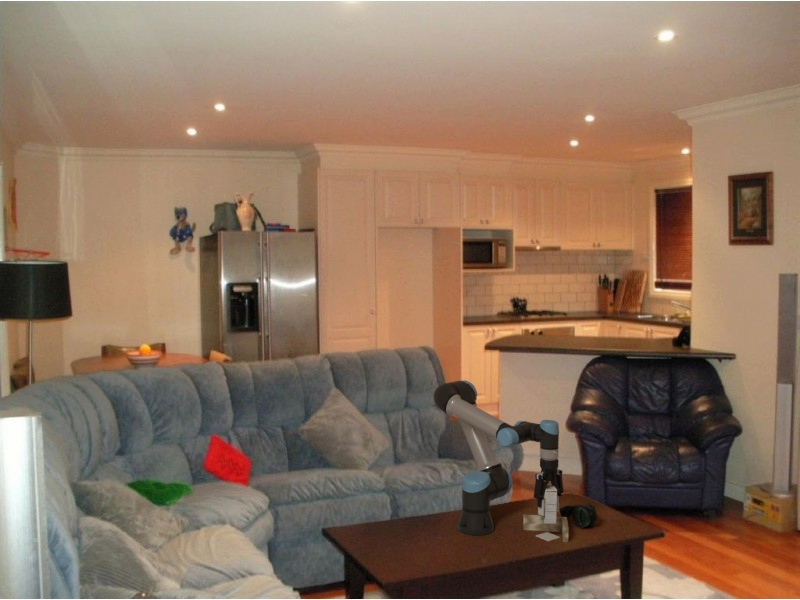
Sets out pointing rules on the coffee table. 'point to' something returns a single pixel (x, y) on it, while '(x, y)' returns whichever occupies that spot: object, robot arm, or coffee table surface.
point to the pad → (547, 536)
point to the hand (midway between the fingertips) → (548, 512)
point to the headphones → (580, 514)
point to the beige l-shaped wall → (546, 525)
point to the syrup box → (550, 505)
